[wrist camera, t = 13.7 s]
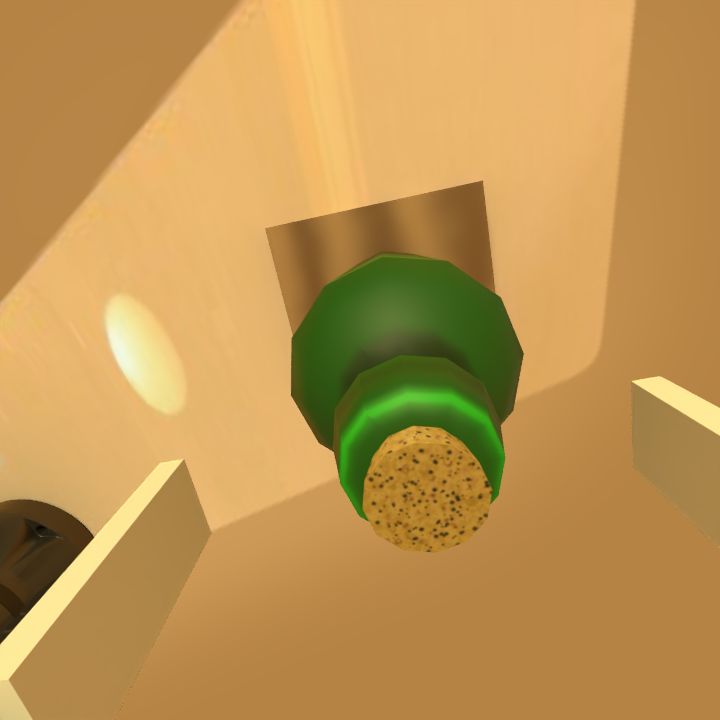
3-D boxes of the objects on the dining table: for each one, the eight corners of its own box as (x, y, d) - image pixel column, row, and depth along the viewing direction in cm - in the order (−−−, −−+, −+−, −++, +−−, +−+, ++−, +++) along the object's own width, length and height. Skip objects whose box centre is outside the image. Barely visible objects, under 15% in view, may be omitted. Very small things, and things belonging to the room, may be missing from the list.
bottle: (384, 382, 40) (400, 709, 13) (304, 295, 38) (129, 478, 11) (478, 306, 37) (730, 522, 11) (398, 209, 35) (467, 174, 9)
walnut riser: (314, 390, 44) (310, 402, 41) (273, 227, 39) (265, 228, 36) (494, 358, 42) (503, 368, 39) (474, 183, 37) (482, 180, 34)
